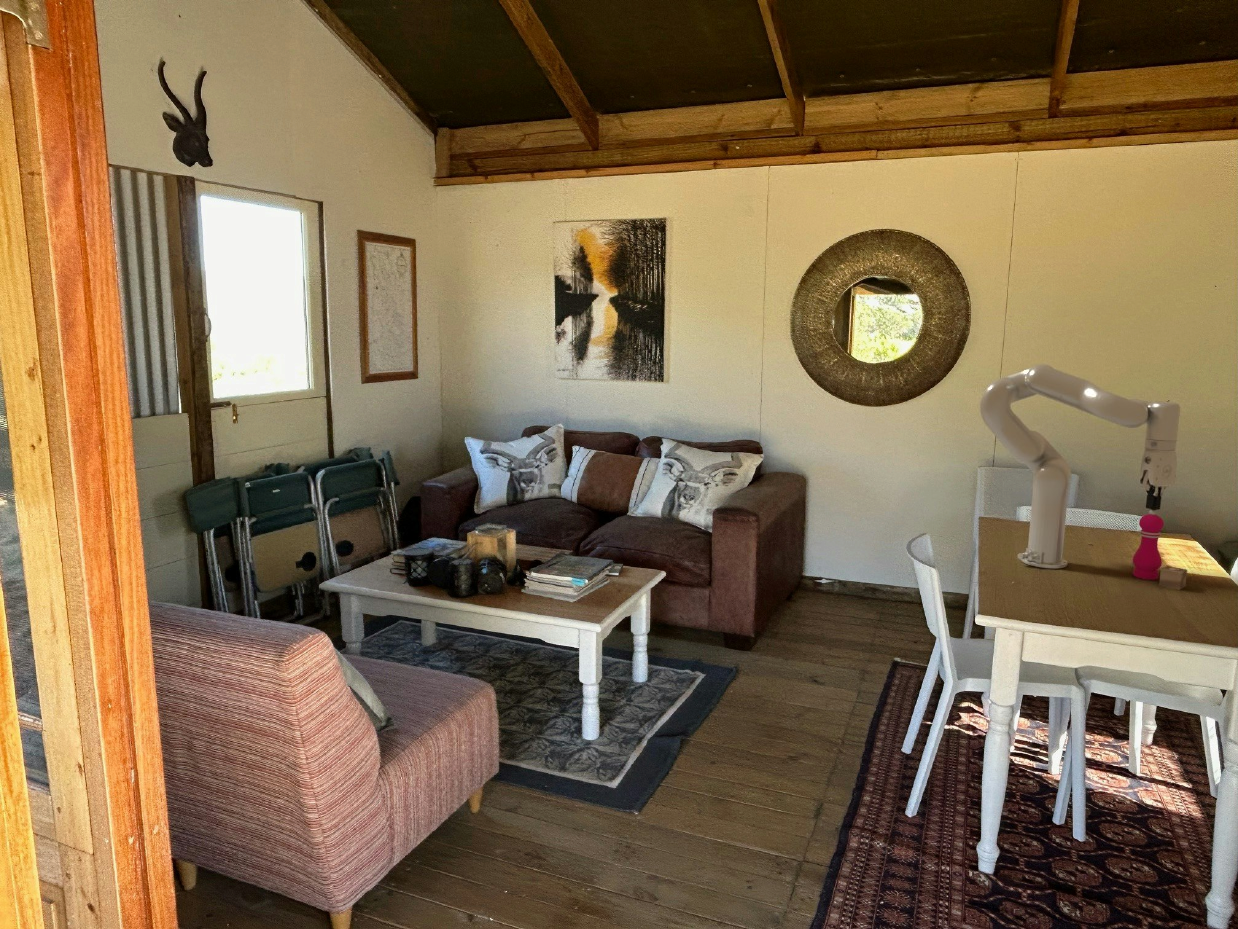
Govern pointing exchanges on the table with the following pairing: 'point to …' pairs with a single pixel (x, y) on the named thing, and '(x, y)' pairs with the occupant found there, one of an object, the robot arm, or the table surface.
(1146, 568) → the pepper mill
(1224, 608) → the table surface
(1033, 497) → the robot arm
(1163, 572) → the walnut block
